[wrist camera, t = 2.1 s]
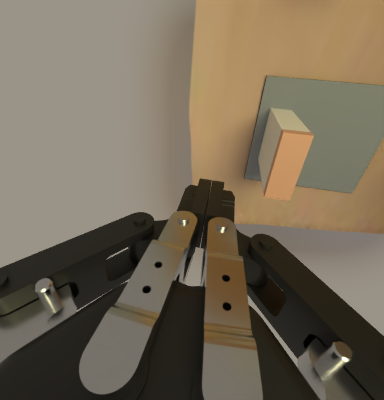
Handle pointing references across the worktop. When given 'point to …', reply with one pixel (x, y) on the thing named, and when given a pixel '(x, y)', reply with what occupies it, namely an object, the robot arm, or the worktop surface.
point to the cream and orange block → (283, 153)
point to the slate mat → (326, 128)
